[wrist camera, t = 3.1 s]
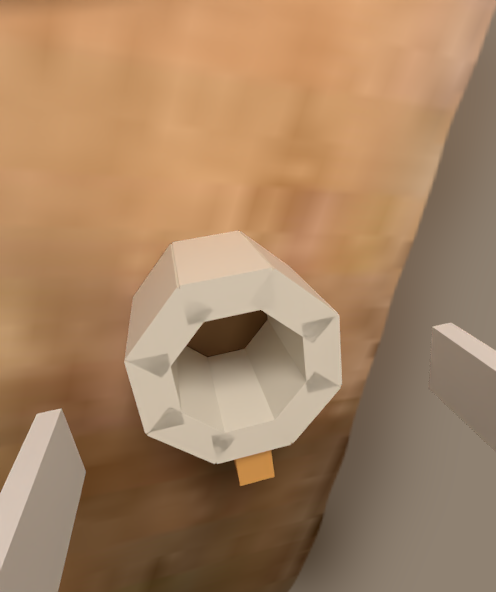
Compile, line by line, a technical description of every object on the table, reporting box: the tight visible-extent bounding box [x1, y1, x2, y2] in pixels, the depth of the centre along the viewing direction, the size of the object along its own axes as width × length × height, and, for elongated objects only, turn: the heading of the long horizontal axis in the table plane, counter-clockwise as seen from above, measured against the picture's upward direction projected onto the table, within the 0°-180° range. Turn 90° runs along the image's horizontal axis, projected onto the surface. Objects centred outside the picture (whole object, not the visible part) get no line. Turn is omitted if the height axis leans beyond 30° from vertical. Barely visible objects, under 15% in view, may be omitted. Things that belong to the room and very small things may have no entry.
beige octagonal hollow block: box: [124, 230, 342, 486], centre depth 18 cm, size 8×10×6 cm
